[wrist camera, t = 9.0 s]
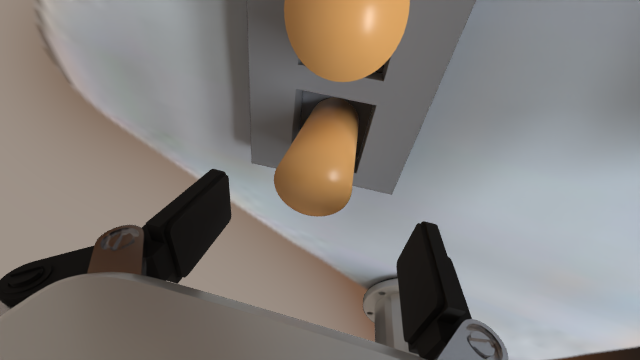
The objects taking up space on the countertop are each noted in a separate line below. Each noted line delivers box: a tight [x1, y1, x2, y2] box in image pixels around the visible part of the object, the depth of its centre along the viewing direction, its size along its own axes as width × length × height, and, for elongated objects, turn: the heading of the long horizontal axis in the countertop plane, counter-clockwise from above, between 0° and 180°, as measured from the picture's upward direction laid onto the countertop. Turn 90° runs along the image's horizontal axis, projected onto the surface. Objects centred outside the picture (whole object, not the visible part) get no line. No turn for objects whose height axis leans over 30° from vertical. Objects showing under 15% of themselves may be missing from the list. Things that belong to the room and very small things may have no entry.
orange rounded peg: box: [274, 98, 359, 216], centre depth 15 cm, size 4×4×9 cm
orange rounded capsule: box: [284, 0, 410, 82], centre depth 11 cm, size 4×4×9 cm
